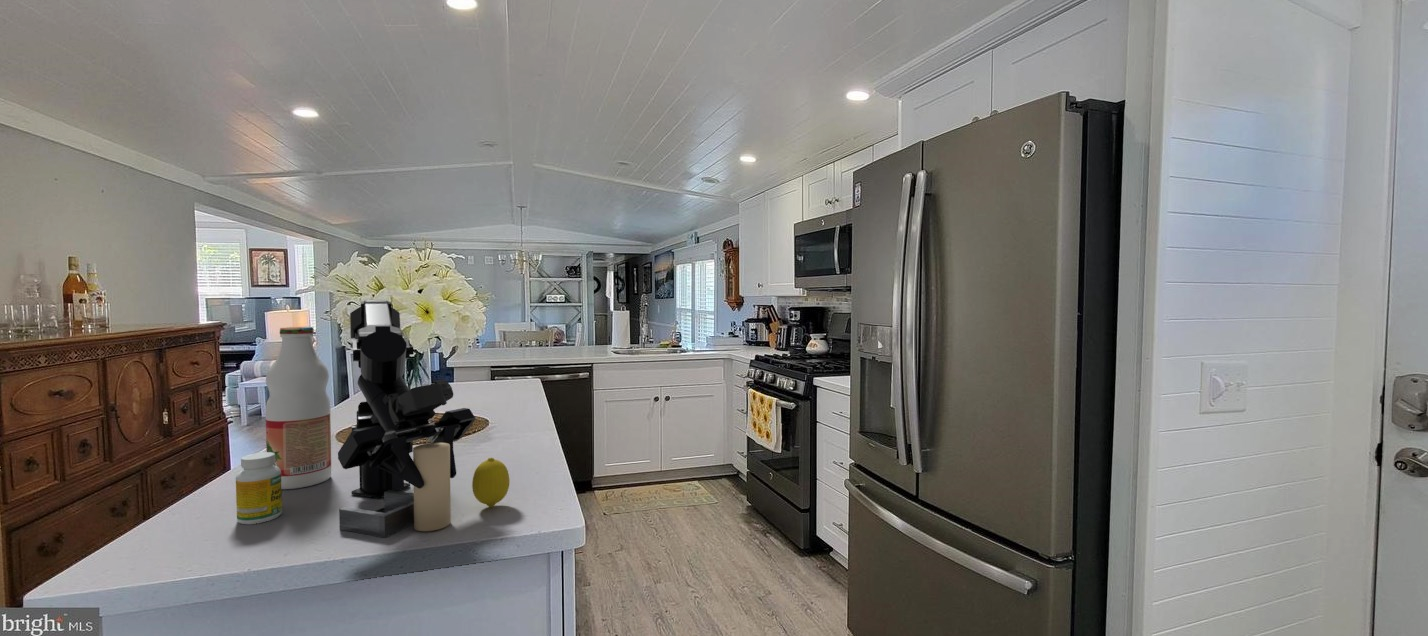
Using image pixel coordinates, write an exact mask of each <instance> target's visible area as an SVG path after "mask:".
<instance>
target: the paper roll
mask: <svg viewBox="0 0 1428 636" xmlns="http://www.w3.org/2000/svg"><path fill="white" fill-rule="evenodd" d="M412 453H413V454H412V455H413V456H412V460H413V462H414V463H415V465H416V467H417V469H418V470H419V472H420V474H421V476H422V478H423V481H424V486H423V487H422V488H420V489H419V488H417V487H415V486H413V493H414V524H413V528H414V530H416V531H419V532H433V531H437V530H441V529H444V528H446V527H448V526H449V525H451V523H452V522H451V521H452V518H451V517H452V515H451V511H452V509H451V478H450V444H448V443H430V442H429V443H423V444H418V445H416V446H413V452H412Z"/></svg>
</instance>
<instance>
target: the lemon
mask: <svg viewBox="0 0 1428 636" xmlns="http://www.w3.org/2000/svg"><path fill="white" fill-rule="evenodd" d="M471 488H472V492H473V495H474V497H475V498H476V500H477V501H478V502H479V503H481V504H484V505H486V506H487V507H488V508H494V507H495V506H496V505H497V504H498V503H499V502H501V501H502V500H503V499H504V498H505V497H506V496H507V493H508V492H509V488H510V474H509V470H508V468H507V466H506V465H505V464H504V463H503V462H502V461H500V460H498V459H495V458H494V457H488V458H487V459H485V460H484V461H482V462H481V463H479V465H478V466H477V467H476V468H475V470H474V473H473V477H472V483H471Z"/></svg>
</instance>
